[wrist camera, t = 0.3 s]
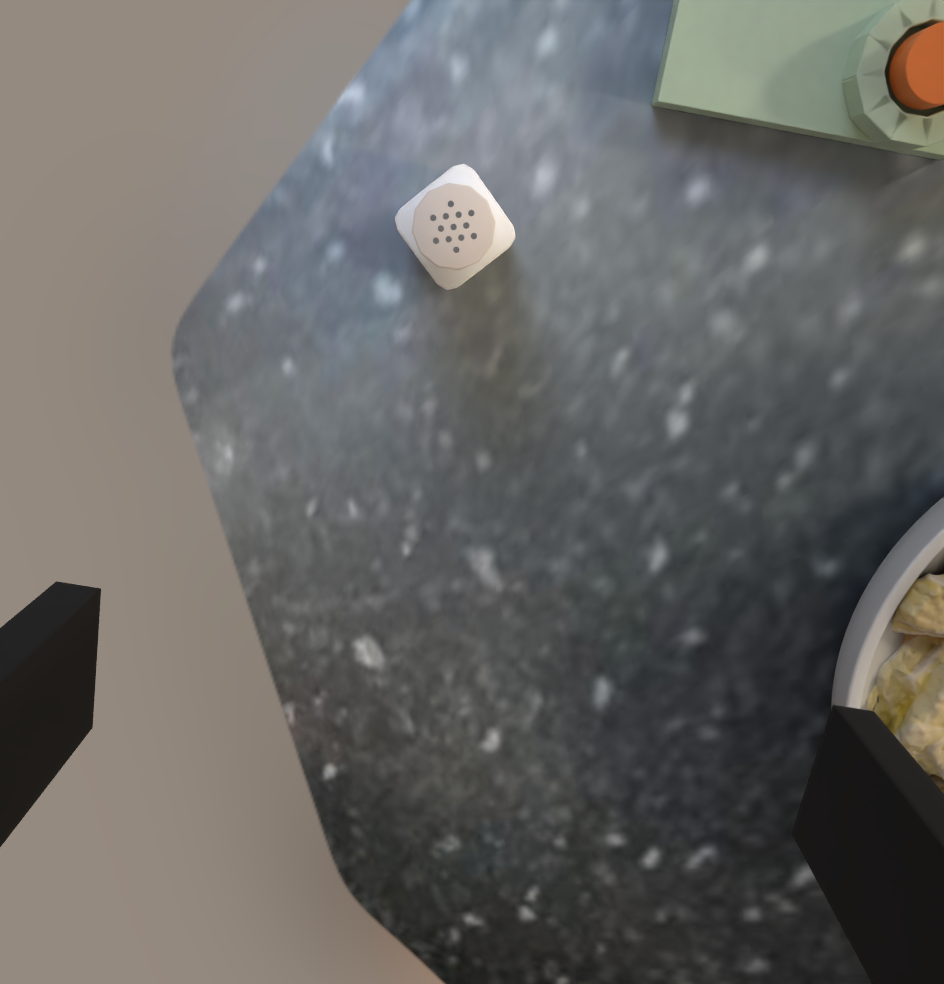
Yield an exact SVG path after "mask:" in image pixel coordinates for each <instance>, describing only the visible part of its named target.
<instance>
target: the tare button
mask: <svg viewBox="0 0 944 984" xmlns="http://www.w3.org/2000/svg"><path fill="white" fill-rule="evenodd" d="M889 80H890V85H891V89H892V91H893V93H894V95H895V96H896V98H897V99H898V100H899V101H900V102H901V103H902V104H904V105H905V106H907V107H909V108H912V109H917V110H925V109H930V108H934V107H938V106H941V105H944V22H940V23H937V24H934V25H932V26H930V27H928V28H925V29H923V30H921V31H919V32H917V33H915V34H913V35H911V36H910V37H908V38H907V39H906V40H905V41H904V42H903V43H902V44H901V45H900V46H899V47H898V49H897V50H896V52H895V54H894V56H893V58H892V61H891V65H890V71H889Z"/></svg>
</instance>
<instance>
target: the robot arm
mask: <svg viewBox="0 0 944 984" xmlns="http://www.w3.org/2000/svg"><path fill="white" fill-rule="evenodd" d="M100 595H101V589H100V588H93V587H88V586H81V585H75V584H68V583H62V582H55V583H54V584H53V585H52V586H50V587H49V588H48V589H47V590H46V591H45V592H43V593H42V594H41V595H40V596H39V597H37V598H36V599H35V600H33V601H32V602H31V603H30V604H29V605H28V606H26V607H25V608H24V609H23V610H22V611H20V612H19V613H18V614H17V615H15V616H14V617H13V618H12V619H11V620H9V621H8V622H7V623H6V624H5V625H4V626H2V627H1V628H0V847H1V846H2V844H3V843H4V842H5V840H6V839H7V838H8V837H9V835H10V834H11V833H12V831H13V830H14V829H15V827H16V826H17V825H18V824H19V822H20V821H21V820H22V818H23V817H24V816H25V814H26V813H27V812H28V811H29V809H30V808H31V807H32V805H33V804H34V803H35V802H36V800H37V799H38V798H39V796H40V795H41V794H42V792H43V791H44V790H45V788H46V787H47V786H48V785H49V783H50V782H51V781H52V779H53V778H54V777H55V776H56V774H57V773H58V772H59V770H60V769H61V768H62V766H63V765H64V764H65V763H66V761H67V760H68V758H69V757H70V756H71V755H72V753H73V752H74V751H75V750H76V748H77V747H78V746H79V744H80V743H81V742H82V740H83V739H84V738H85V737H86V735H87V734H88V733H89V731H90V730H91V729H92V726H93V710H94V694H95V676H96V661H97V645H98V628H99V612H100ZM792 835H793V837H794V839H795V841H796V843H797V844H798V846H799V848H800V850H801V852H802V854H803V856H804V857H805V859H806V861H807V863H808V865H809V867H810V869H811V870H812V872H813V874H814V876H815V878H816V880H817V882H818V883H819V885H820V887H821V889H822V891H823V893H824V895H825V897H826V898H827V900H828V902H829V904H830V906H831V908H832V910H833V911H834V913H835V915H836V917H837V919H838V921H839V923H840V924H841V926H842V928H843V930H844V932H845V934H846V936H847V937H848V939H849V941H850V943H851V945H852V947H853V949H854V950H855V952H856V954H857V956H858V958H859V960H860V962H861V963H862V965H863V967H864V969H865V971H866V973H867V975H868V977H869V978H870V980H871V982H872V984H944V793H943V792H942V791H941V790H940V789H939V787H938V786H937V785H936V784H935V783H934V781H933V780H932V779H931V778H930V777H929V776H928V774H927V773H926V772H925V771H924V770H923V769H922V767H921V766H920V765H919V764H918V763H917V761H916V760H915V759H914V758H913V757H912V756H911V754H910V753H909V752H908V751H907V750H906V748H905V747H904V746H903V745H902V744H901V743H900V741H899V740H898V739H897V738H896V737H895V736H894V734H893V733H892V732H891V731H890V730H889V728H888V727H887V726H886V725H885V724H884V723H883V721H882V720H881V719H880V718H879V717H878V716H877V714H876V713H875V712H874V711H869V710H863V709H857V708H850V707H844V706H838V705H833V706H832V709H831V712H830V715H829V719H828V722H827V725H826V728H825V731H824V734H823V737H822V740H821V743H820V746H819V749H818V752H817V755H816V759H815V762H814V765H813V768H812V771H811V774H810V777H809V780H808V783H807V786H806V789H805V792H804V796H803V799H802V802H801V805H800V808H799V811H798V814H797V817H796V820H795V823H794V826H793V829H792Z"/></svg>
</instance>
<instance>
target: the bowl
mask: <svg viewBox="0 0 944 984" xmlns="http://www.w3.org/2000/svg"><path fill="white" fill-rule="evenodd" d="M833 705H838V706H844V707H850V708H857V709H863V710H869V711H874V712H875V713H876V714H877V716H878V717H879V718H880V719H881V720H882V721H883V723H884V724H885V725H886V726H887V727H888V728H889V730H890V731H891V732H892V733H893V734H894V736H895V737H896V738H897V739H898V740H899V741H900V743H901V744H902V745H903V746H904V747H905V748H906V750H907V751H908V752H909V753H910V754H911V756H912V757H913V758H914V759H915V760H916V761H917V763H918V764H919V765H920V766H921V767H922V769H923V770H924V771H925V772H926V773H927V774H928V776H929V777H930V778H931V779H932V780H933V781H934V783H935V784H936V785H937V786H938V787H939V789H940V790H941V791H942V792H943V793H944V497H943V498H942V499H940V500H939V501H938V502H937V503H936V504H935V505H933V506H932V507H931V508H930V509H929V510H928V511H927V512H926V513H925V514H924V515H923V516H922V517H921V518H920V519H918V520H917V521H916V522H915V523H914V524H913V526H912V527H911V528H910V529H909V530H908V531H907V532H906V533H905V534H904V535H903V536H902V538H901V539H900V540H899V541H898V542H897V544H896V545H895V546H894V547H893V549H892V550H891V551H890V552H889V554H888V555H887V556H886V558H885V559H884V561H883V562H882V563H881V565H880V566H879V568H878V569H877V571H876V572H875V574H874V575H873V577H872V578H871V580H870V582H869V583H868V585H867V587H866V589H865V591H864V592H863V594H862V596H861V598H860V600H859V602H858V604H857V606H856V608H855V610H854V612H853V615H852V617H851V620H850V622H849V625H848V627H847V630H846V632H845V635H844V639H843V642H842V645H841V648H840V652H839V656H838V660H837V664H836V670H835V675H834V681H833V690H832V701H831V709H832V706H833Z"/></svg>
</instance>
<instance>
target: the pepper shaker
mask: <svg viewBox="0 0 944 984" xmlns="http://www.w3.org/2000/svg"><path fill="white" fill-rule="evenodd" d="M395 223H396V227H397V230H398V232H399V233H400V235H401V236H402V237H403V239H404V240H405V241H406V243H407V244H408V246H409V247H410V248H411V250H412V251H413V252H414V254H415V255H416V257H417V258H418V259H419V261H420V262H421V263H422V265H423V266H424V267H425V269H426V270H427V271H428V273H429V274H430V275H431V277H432V278H433V279H434V281H435V282H436V283H437V284H438V285H439V286H441V287H442V288H444V289H446V290H450V289H454V288H458V287H459V286H460V285H462V284H463V283H464V282H465V281H467V280H468V279H469V278H471V277H472V276H473V275H475V274H476V273H477V272H479V271H480V270H481V269H483V268H484V267H485V266H486V265H488V264H489V263H490V262H492V261H493V260H494V259H496V258H497V257H498V256H499V255H501V254H502V253H503V252H504V251H506V250H507V249H508V248H510V247H511V245H512V243H513V241H514V239H515V238H516V236H515V231H514V227H513V225H512V223H511V222H510V221H509V219H508V218H507V216H506V215H505V213H504V212H503V210H502V209H501V208H500V206H499V205H498V203H497V202H496V200H495V199H494V197H493V196H492V195H491V193H490V192H489V190H488V189H487V188H486V186H485V185H484V183H483V182H482V181H481V179H480V178H479V176H478V175H477V174H476V172H475V171H474V169H472V168H470V167H469V166H467V165H465V164H461V165H456V166H453V167H452V168H450V169H449V170H448V171H446V172H445V173H444V174H443V175H441V176H440V177H439V178H437V179H436V180H435V181H434V182H432V183H431V184H430V185H428V186H427V187H426V188H425V189H423V190H422V191H421V192H420V193H418V194H417V195H416V196H415V197H414V198H412V199H411V200H410V201H409V202H407V203H406V204H405V205H404V206H403V207H401V208H400V209H399V211H398V213H397V215H396V217H395Z"/></svg>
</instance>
